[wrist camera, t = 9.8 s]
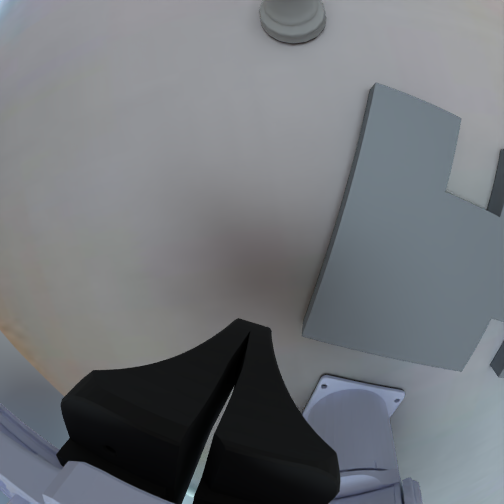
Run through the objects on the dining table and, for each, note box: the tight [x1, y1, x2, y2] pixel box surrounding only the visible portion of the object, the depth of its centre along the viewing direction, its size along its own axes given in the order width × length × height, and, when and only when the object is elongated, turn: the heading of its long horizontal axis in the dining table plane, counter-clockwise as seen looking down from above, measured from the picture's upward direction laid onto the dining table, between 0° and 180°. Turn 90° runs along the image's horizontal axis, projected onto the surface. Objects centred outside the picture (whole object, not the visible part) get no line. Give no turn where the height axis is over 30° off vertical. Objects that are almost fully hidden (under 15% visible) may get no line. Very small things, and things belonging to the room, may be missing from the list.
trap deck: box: [302, 83, 504, 378], centre depth 17 cm, size 17×26×2 cm, turn 76°
